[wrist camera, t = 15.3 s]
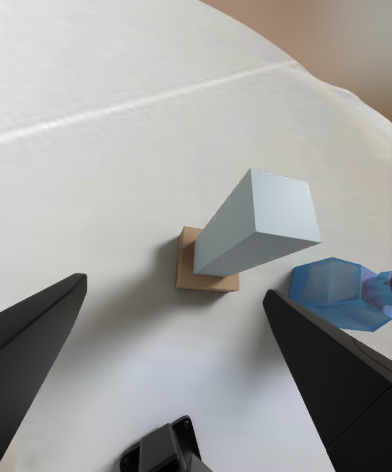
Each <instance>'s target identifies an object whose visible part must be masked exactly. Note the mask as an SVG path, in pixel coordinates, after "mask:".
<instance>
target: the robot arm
mask: <svg viewBox="0 0 392 472" xmlns="http://www.w3.org/2000/svg"><path fill="white" fill-rule="evenodd" d="M86 293H87V275H86V274H82V273H75V274H73V275H71V276H69V277H67V278H65V279H63V280H61V281H59V282H57V283H55V284H54V285H52V286H50V287H48V288H46V289H44V290H42V291H40V292H38V293H36V294H34V295H32V296H30V297H28V298H27V299H25V300H23V301H21V302H19V303H17V304H15V305H13V306H11V307H9V308H7V309H5V310H3V311H1V312H0V461H1V459H2V457H3V456H4V454H5V452H6V450H7V448H8V446H9V444H10V443H11V441H12V439H13V437H14V435H15V433H16V432H17V430H18V428H19V426H20V424H21V422H22V420H23V419H24V417H25V415H26V413H27V411H28V409H29V408H30V406H31V404H32V402H33V400H34V398H35V396H36V395H37V393H38V391H39V389H40V387H41V385H42V383H43V382H44V380H45V378H46V376H47V374H48V372H49V371H50V369H51V367H52V365H53V363H54V361H55V359H56V358H57V356H58V354H59V352H60V350H61V348H62V347H63V345H64V343H65V341H66V339H67V337H68V335H69V334H70V332H71V330H72V328H73V325H74V323H75V320H76V318H77V316H78V313H79V311H80V308H81V306H82V303H83V301H84V298H85V296H86ZM263 307H264V310H265V313H266V315H267V318H268V321H269V324H270V327H271V329H272V332H273V335H274V337H275V339H276V341H277V343H278V346H279V348H280V350H281V352H282V354H283V357H284V359H285V361H286V363H287V365H288V368H289V370H290V372H291V374H292V377H293V379H294V381H295V383H296V385H297V388H298V390H299V392H300V394H301V396H302V399H303V401H304V403H305V405H306V407H307V410H308V412H309V414H310V416H311V418H312V421H313V423H314V425H315V427H316V429H317V432H318V434H319V436H320V438H321V440H322V443H323V445H324V447H325V449H326V452H327V454H328V456H329V458H330V461H331V463H332V465H333V467H334V469H335V472H392V360H390V359H388V358H387V357H385V356H383V355H382V354H380V353H378V352H376V351H375V350H373V349H371V348H370V347H368V346H366V345H365V344H363V343H362V342H360V341H358V340H357V339H355V338H353V337H352V336H349V335H348V334H347V333H345V332H344V331H342V330H340V329H339V328H337V327H336V326H334V325H332V324H331V323H329V322H328V321H326V320H324V319H323V318H321V317H319V316H318V315H316V314H315V313H313V312H311V311H310V310H308V309H307V308H305V307H303V306H302V305H300V304H298V303H297V302H295V301H294V300H292V299H290V298H289V297H287V296H286V295H284V294H282V293H281V292H279V291H277V290H273V289H269V290H268V291H267V293H266V295H265V297H264V300H263ZM185 421H188V424H187V425H184V423H185ZM125 458H128V459H129V461H128V462H127V463H124V459H125ZM120 471H121V472H212V471H211V470H210V469H209V468H208V467H207V466H206V465H205V464H204V463H203V462H202V460H201V456H200V452H199V448H198V444H197V441H196V437H195V433H194V429H193V425H192V422H191V419H190V417H189V416H188V415H185V416H183V417H181V418H180V419H178V420H176V421H175V422H173V423H172V424H169V423H167V424H166V425H164V426H162V427H161V428H159V429H157V430H156V431H154V432H152V433H151V434H149V435H147V436H146V437H144V438H142V440H141V442H140V443H139V444H137V445H135V446H134V447H132V448H130V449H129V450H127V451H125V452H124V453H123V454H122V456H121V459H120Z"/></svg>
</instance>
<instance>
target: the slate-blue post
mask: <svg viewBox="0 0 392 472" xmlns="http://www.w3.org/2000/svg"><path fill="white" fill-rule="evenodd" d="M319 243H322V242H321V237H320V233H319V229H318V224H317V220H316V216H315V211H314V207H313V202H312V198H311V194H310V189H309V185H308V182H304V181H300V180H296V179H292V178H288V177H284V176H280V175H276V174H273V173H269V172H265V171H261V170H257V169H253V168H250V169H249V171H248V172H247V173H246V175H245V176H244V177H243V178H242V180H241V181H240V182H239V184H238V185H237V186H236V188H235V189H234V190H233V191H232V193H231V194H230V195H229V197H228V198H227V199H226V201H225V202H224V203H223V204H222V206H221V207H220V208H219V210H218V211H217V212H216V214H215V215H214V216H213V217H212V219H211V220H210V221H209V223H208V224H207V225H206V227H205V228H204V229H203V230H202V232H201V233H200V234H199V236H198V237H197V238H196V240H195V247H194V265H193V274H200V275H210V276H220V277H228V276H231V275H233V274H236V273H239V272H242V271H245V270H247V269H250V268H253V267H256V266H258V265H261V264H264V263H267V262H269V261H272V260H275V259H278V258H280V257H283V256H286V255H289V254H291V253H294V252H297V251H300V250H302V249H305V248H308V247H311V246H313V245H316V244H319Z"/></svg>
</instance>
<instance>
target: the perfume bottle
mask: <svg viewBox="0 0 392 472" xmlns="http://www.w3.org/2000/svg"><path fill="white" fill-rule="evenodd" d="M289 298H290V299H292V300H294V301H295V302H297V303H298V304H300V305H302V306H303V307H305V308H307V309H308V310H310V311H311V312H313V313H315V314H316V315H318V316H319V317H321V318H323V319H324V320H326V321H328V322H329V323H331V324H332V325H334V326H336V327H337V328H342V329H351V330H360V331H369V332H374V331H376V330H377V329H379V328H380V327H382V326H383V325H385V324H386V323H387V322H389V321H390V320H392V271H388V272H381V273H379V274H378V275H377V274H376V273H374V272H372V271H371V270H369V269H367V268H365V267H364V266H362V265H359V264H355V263H352V262H348V261H344V260H341V259H337V258H333V257H332V258H328V259H324V260H320V261H316V262H313V263H309V264H305V265H301V266H297V267H295V268H294V273H293V278H292V283H291V287H290V292H289Z"/></svg>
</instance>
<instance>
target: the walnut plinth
mask: <svg viewBox="0 0 392 472" xmlns="http://www.w3.org/2000/svg"><path fill="white" fill-rule="evenodd" d="M202 230H203V229H198V228H192V227H185V226H184V228H183V230H182V232H181V234H180V240H179V251H178V263H177V274H176V286H175V288H179V289H192V290H205V291H218V292H233V291H238V290H239V273H236V274H233V275H231V276H228V277H220V276H210V275H200V274H193V265H194V247H195V240H196V238H197V237H198V236H199V234H200V233H201V232H202Z"/></svg>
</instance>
